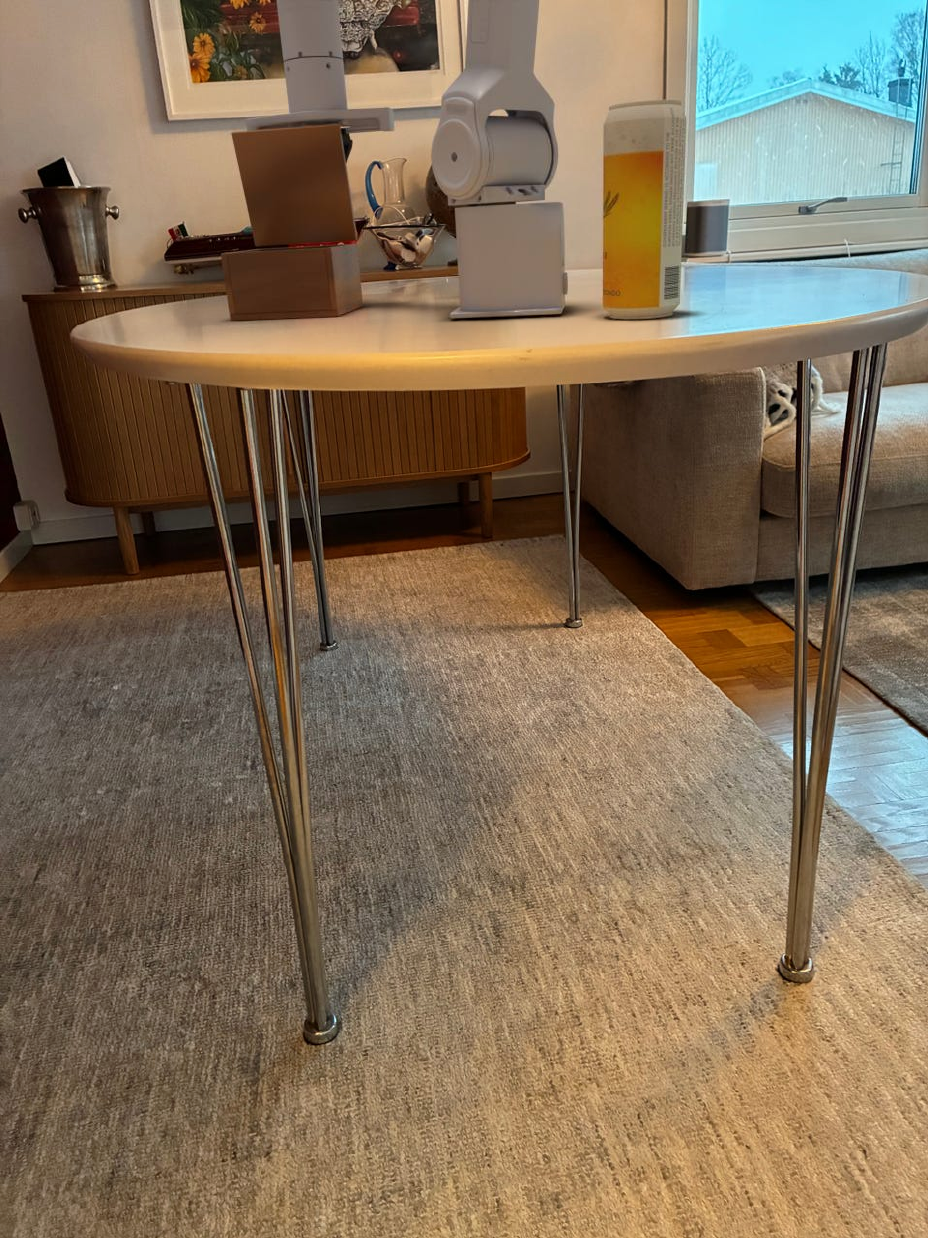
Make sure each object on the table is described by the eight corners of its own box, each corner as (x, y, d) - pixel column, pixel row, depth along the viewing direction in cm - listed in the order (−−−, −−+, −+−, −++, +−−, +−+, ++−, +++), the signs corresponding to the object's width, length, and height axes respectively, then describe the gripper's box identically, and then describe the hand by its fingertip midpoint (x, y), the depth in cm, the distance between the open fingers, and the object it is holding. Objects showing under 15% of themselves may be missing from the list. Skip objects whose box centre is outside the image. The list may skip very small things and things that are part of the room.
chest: (337, 316, 88) (330, 247, 86) (230, 320, 90) (220, 253, 87) (363, 306, 97) (357, 243, 95) (264, 310, 99) (256, 248, 96)
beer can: (626, 310, 79) (629, 110, 73) (692, 311, 75) (701, 101, 69) (588, 319, 74) (588, 106, 68) (656, 320, 71) (662, 96, 65)
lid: (338, 124, 88) (340, 123, 88) (230, 132, 90) (232, 131, 90) (356, 240, 94) (357, 238, 95) (255, 246, 96) (257, 244, 96)
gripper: (395, 61, 92) (406, 210, 97) (256, 73, 94) (274, 218, 99) (379, 50, 85) (392, 211, 91) (230, 63, 88) (251, 219, 93)
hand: (329, 215), depth 95 cm, fingers closed, pressing on lid
